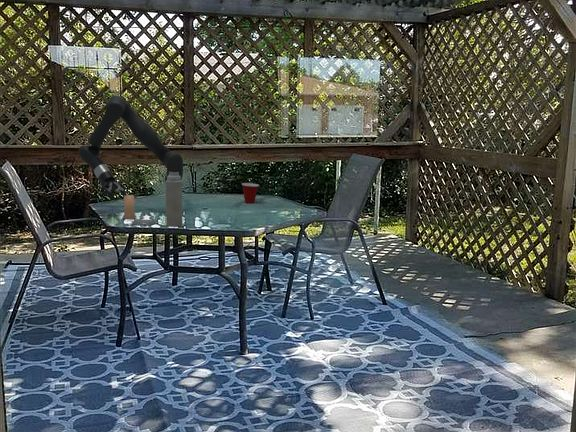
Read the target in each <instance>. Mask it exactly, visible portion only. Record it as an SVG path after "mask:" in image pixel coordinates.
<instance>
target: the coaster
mask: <svg viewBox="0 0 576 432" xmlns="http://www.w3.org/2000/svg"><path fill="white" fill-rule="evenodd" d="M131 224H132V225H135V226H152V225H154V224H157V221H156V220H154V219H136V220H135V219H134V220H132V221H131Z"/></svg>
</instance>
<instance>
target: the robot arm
mask: <svg viewBox="0 0 576 432" xmlns="http://www.w3.org/2000/svg"><path fill="white" fill-rule="evenodd" d="M120 118H121V119H123V121H124V122H125V123H126V125H127V126H128V128H129V130H130V131H131V133H132V135H133V136H134V137H135V138H136V139H137V140H138V141H139V142H140V143H141V144H143V146H144V147H145V148H146V149H148V150H149V151H150V152H151V153H153V154H154V155H155V156H156V158H157V159H158V160H159V161H160V162H161V164H162V165H163V166H164V167H165V168H166V175H165V176H164V212H165V213H166V181H167V176H168V175H169V170H170V169H177V170H179V171H178V172H179V176H181V181H182V182H183V180H182V179H183V174H184V161H183V160H184V159H183V157H182V156H181V154H179V153H176V152H173V151H172V150H170V149H169V148H168V147H167V146H166V145H165V144H163V142H162V141H161V139H160V138H159V136H158V135H157V133H156V132H155V130H153V129H152V128H151V126H150V125H148V123H146V122H145V121H144V120H143V119H142V118H141V117H140V116H139V115H138V114H137V113H136V112H135V111H134V110H133V109H132V107H131V106H130V105H129V104H128V102H126V101H125V99H124V98H123V97H121V96H119V95H112V96H110V97H109V99H108V100H107V103H106V106H105V111H104V113H103V117H102V118H101V120H100V122H99V123H97V126H96V127H95V128H94V129H93V131H92V132H91V134H90V136H89V138H88V143H89V145H81V146H79V148H78V155H79V158H81V159H82V161H84V163H86V164H87V165H88V166H89V167H90V168H91V170H92V171H93V173H94V175H95V176H96V178H97V179H98V181H99V182H100V184H99V185H98V187H99V189H100V190H101V192H102V194H103V195H107V196H108V197H109V199H110V200H111V201H114V200H115V199H116V196H115V195H114V194H113V192H112V191H115V192H118V193H120V195H121V196H122V198H123V199H124V196H125V195H128V194H127V192H126V190H127V187H126V186H125V185H124V184H123V182H122V181H121V180H119V181H118V182H117V181H116V179H115V176H114V175H113V173H112V172H111V170H110V169H109V167H108V166H107V165H106V163H105V162H104V161H103V159H102V158H101V157H98V156H99V154H100V151H101V149H102V148H101V147H102V144H103V143H104V141H105V139H106V137H107V136H108V134H109V132H110V130H111V129H112V127H113V126H114V124H116V122H117V121H118V120H119V119H120ZM183 210H184V209H183V207H182V214H183Z"/></svg>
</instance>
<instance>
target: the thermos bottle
mask: <svg viewBox="0 0 576 432" xmlns="http://www.w3.org/2000/svg"><path fill="white" fill-rule="evenodd" d="M178 171H179V170H177V169H170V170H169V175H168V176H167V181H166V212H165V217H166V219H165V221H166V223H165V224H166V226H167V227H175V228H176V227H181V226H183V213H182V208H183V180H182V181H181V176H179V172H178Z"/></svg>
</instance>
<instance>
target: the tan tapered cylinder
mask: <svg viewBox="0 0 576 432" xmlns="http://www.w3.org/2000/svg"><path fill="white" fill-rule="evenodd" d="M135 211H136V210H135V195H132V194H127V195H125V196H124V198H123V212H124V213H123V214H124V216H123V217H124V219H125V220H135V218H136V217H135V216H136V215H135Z"/></svg>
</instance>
